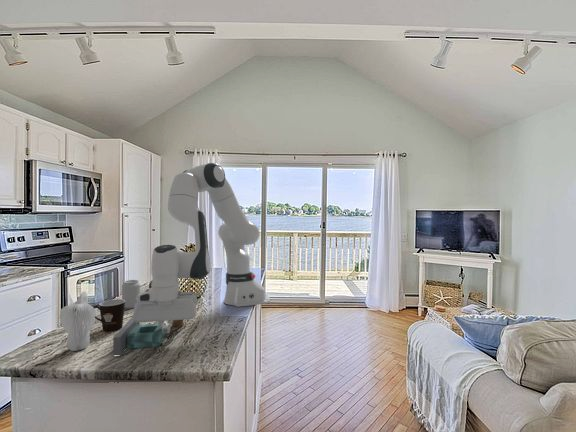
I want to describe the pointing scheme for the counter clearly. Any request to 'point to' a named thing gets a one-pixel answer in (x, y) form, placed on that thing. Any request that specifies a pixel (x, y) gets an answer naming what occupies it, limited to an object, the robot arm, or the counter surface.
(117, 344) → the wall
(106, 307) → the coffee mug
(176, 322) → the dowel
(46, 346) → the counter surface
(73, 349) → the shell sculpture
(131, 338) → the block
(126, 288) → the can
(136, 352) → the counter surface
